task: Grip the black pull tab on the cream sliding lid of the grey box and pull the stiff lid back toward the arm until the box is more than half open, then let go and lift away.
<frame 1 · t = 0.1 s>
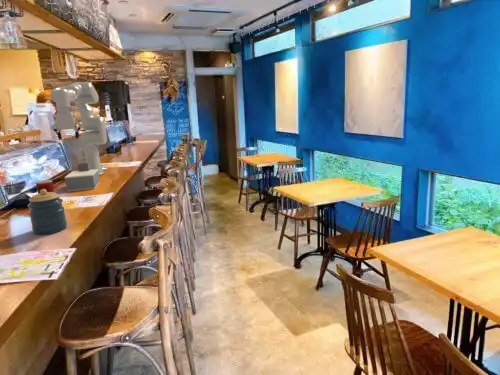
hand: (68, 138, 226), 31 cm above the table, tool pointing down, fingers open, 9 cm apart
grey box: (84, 186, 236), on the table
sliding lid: (81, 169, 233), point 11 cm above the table, slide at 0.0 cm
canister: (50, 230, 155), on the table
canned food: (47, 200, 206), on the table
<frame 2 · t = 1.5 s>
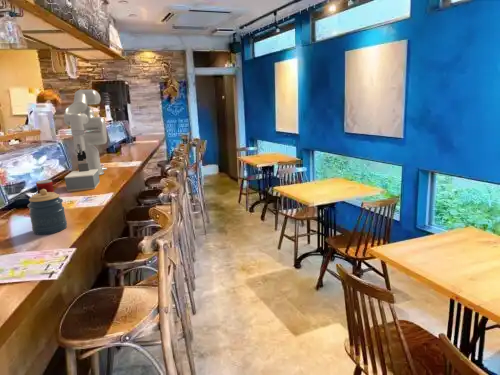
hand: (82, 159, 239), 16 cm above the table, tool pointing down, fingers open, 9 cm apart
nothing on the table moved.
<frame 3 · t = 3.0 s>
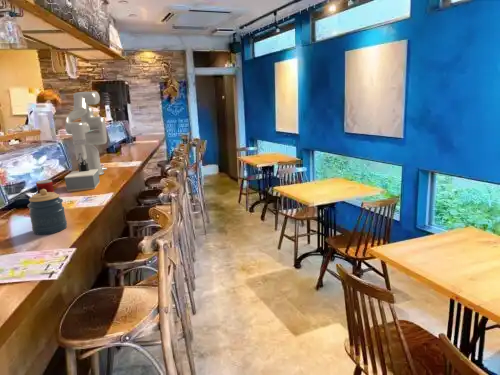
hand: (84, 170, 241), 9 cm above the table, tool pointing down, fingers closed on sliding lid, 2 cm apart
sliding lid: (81, 169, 233), point 11 cm above the table, slide at 0.0 cm, touching gripper
everything else where it was.
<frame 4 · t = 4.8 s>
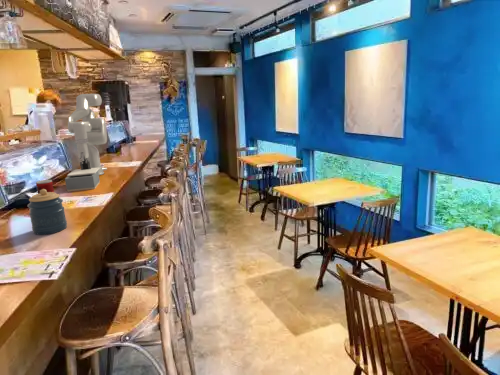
hand: (86, 168, 247), 9 cm above the table, tool pointing down, fingers closed on sliding lid, 2 cm apart
sliding lid: (83, 167, 240), point 11 cm above the table, slide at 6.7 cm, touching gripper
everything else where it was.
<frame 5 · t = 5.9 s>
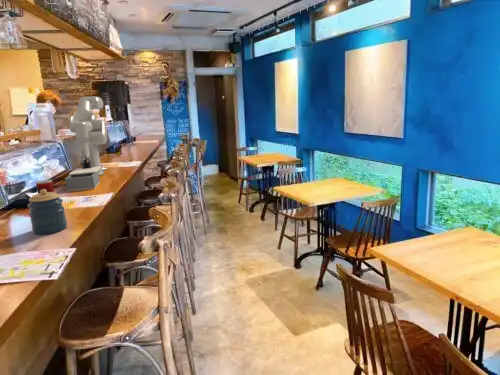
hand: (87, 167, 251), 9 cm above the table, tool pointing down, fingers closed on sliding lid, 2 cm apart
sliding lid: (84, 166, 244), point 11 cm above the table, slide at 11.0 cm, touching gripper
everything else where it was.
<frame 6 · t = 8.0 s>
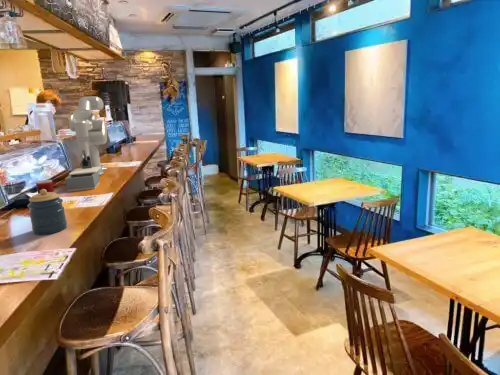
hand: (87, 164, 251), 11 cm above the table, tool pointing down, fingers open, 9 cm apart
sliding lid: (84, 166, 244), point 11 cm above the table, slide at 11.0 cm
everything else where it was.
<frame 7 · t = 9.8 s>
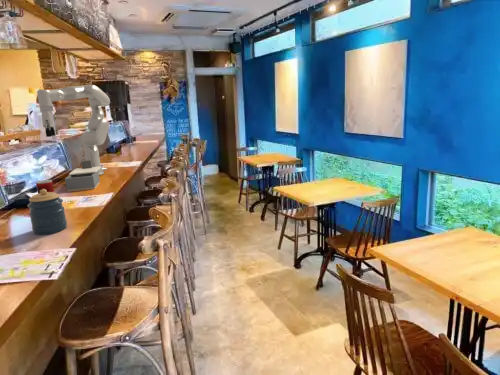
hand: (51, 136, 241), 32 cm above the table, tool pointing down, fingers open, 9 cm apart
nothing on the table moved.
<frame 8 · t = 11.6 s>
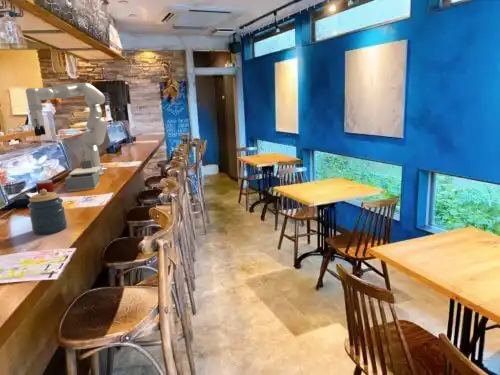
hand: (40, 135, 240), 33 cm above the table, tool pointing down, fingers open, 9 cm apart
nothing on the table moved.
at the end: sliding lid slide at 11.0 cm; the gripper is holding nothing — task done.
